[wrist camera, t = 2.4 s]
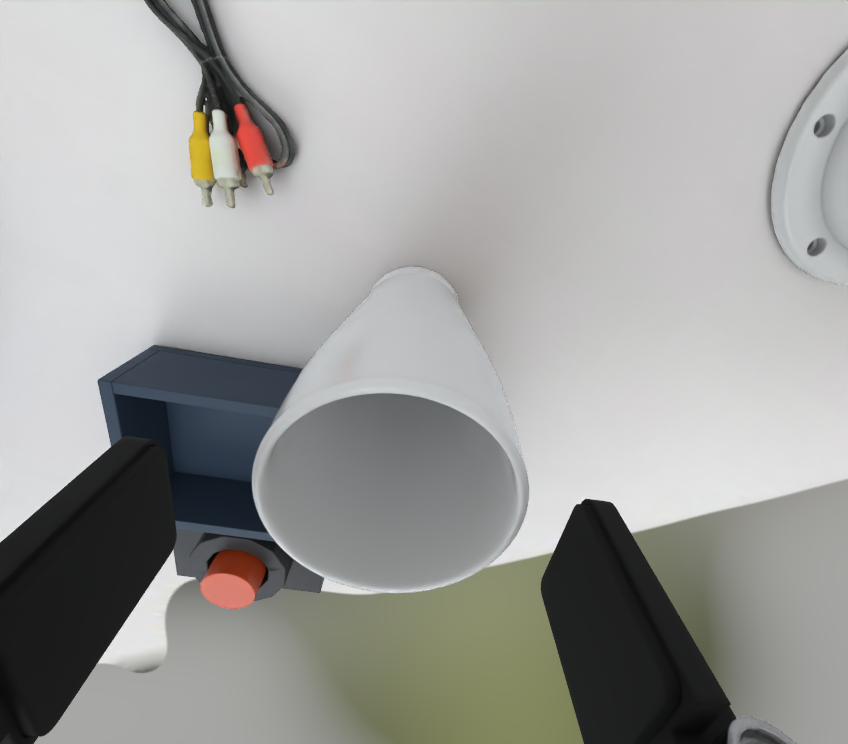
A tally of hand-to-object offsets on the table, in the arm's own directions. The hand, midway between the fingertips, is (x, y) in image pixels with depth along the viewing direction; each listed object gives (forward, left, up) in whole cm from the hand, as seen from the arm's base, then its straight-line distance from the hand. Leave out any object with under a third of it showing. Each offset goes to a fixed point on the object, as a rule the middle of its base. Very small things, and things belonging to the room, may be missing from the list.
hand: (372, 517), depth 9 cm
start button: (+9, +19, -12) cm, 24 cm away
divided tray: (+5, +10, -15) cm, 19 cm away
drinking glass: (0, 0, -15) cm, 15 cm away
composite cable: (+10, -9, -16) cm, 20 cm away
